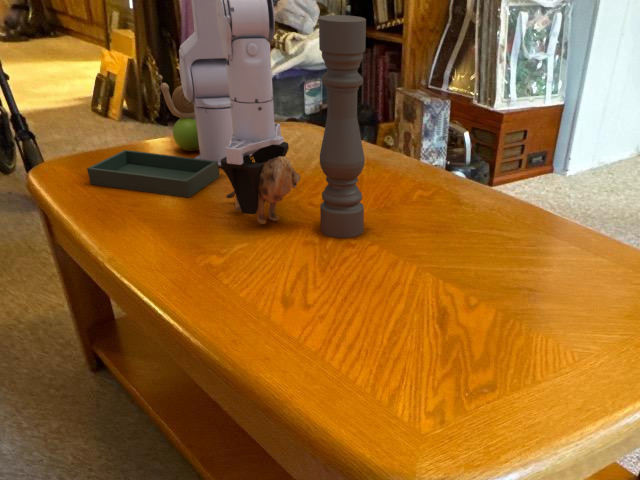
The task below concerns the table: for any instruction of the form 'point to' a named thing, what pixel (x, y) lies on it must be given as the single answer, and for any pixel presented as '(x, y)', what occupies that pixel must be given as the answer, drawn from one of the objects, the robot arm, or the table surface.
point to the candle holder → (342, 125)
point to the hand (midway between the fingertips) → (259, 204)
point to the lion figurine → (273, 186)
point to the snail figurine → (182, 118)
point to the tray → (154, 173)
